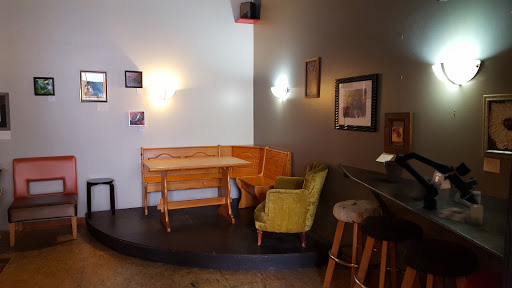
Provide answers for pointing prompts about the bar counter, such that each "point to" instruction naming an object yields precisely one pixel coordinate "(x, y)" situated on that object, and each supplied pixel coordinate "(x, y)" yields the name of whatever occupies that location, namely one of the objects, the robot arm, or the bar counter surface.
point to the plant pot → (393, 171)
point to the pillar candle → (420, 190)
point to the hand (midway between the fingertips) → (478, 203)
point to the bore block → (455, 214)
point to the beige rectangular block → (476, 215)
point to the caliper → (457, 199)
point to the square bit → (476, 196)
